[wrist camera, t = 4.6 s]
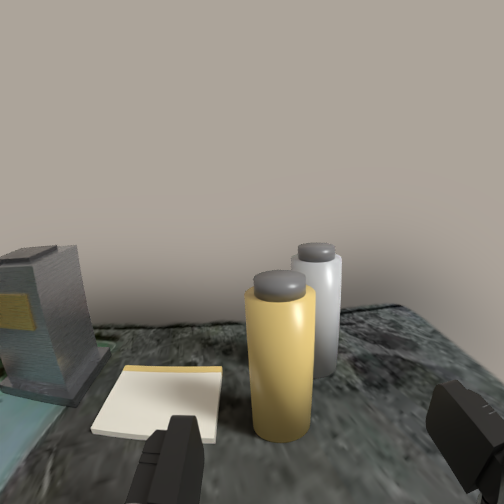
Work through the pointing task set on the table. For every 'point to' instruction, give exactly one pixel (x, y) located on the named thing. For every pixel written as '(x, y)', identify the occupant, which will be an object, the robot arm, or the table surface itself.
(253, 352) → the cylinder
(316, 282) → the cylinder
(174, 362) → the table surface
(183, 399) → the pad
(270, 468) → the table surface
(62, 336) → the unit
